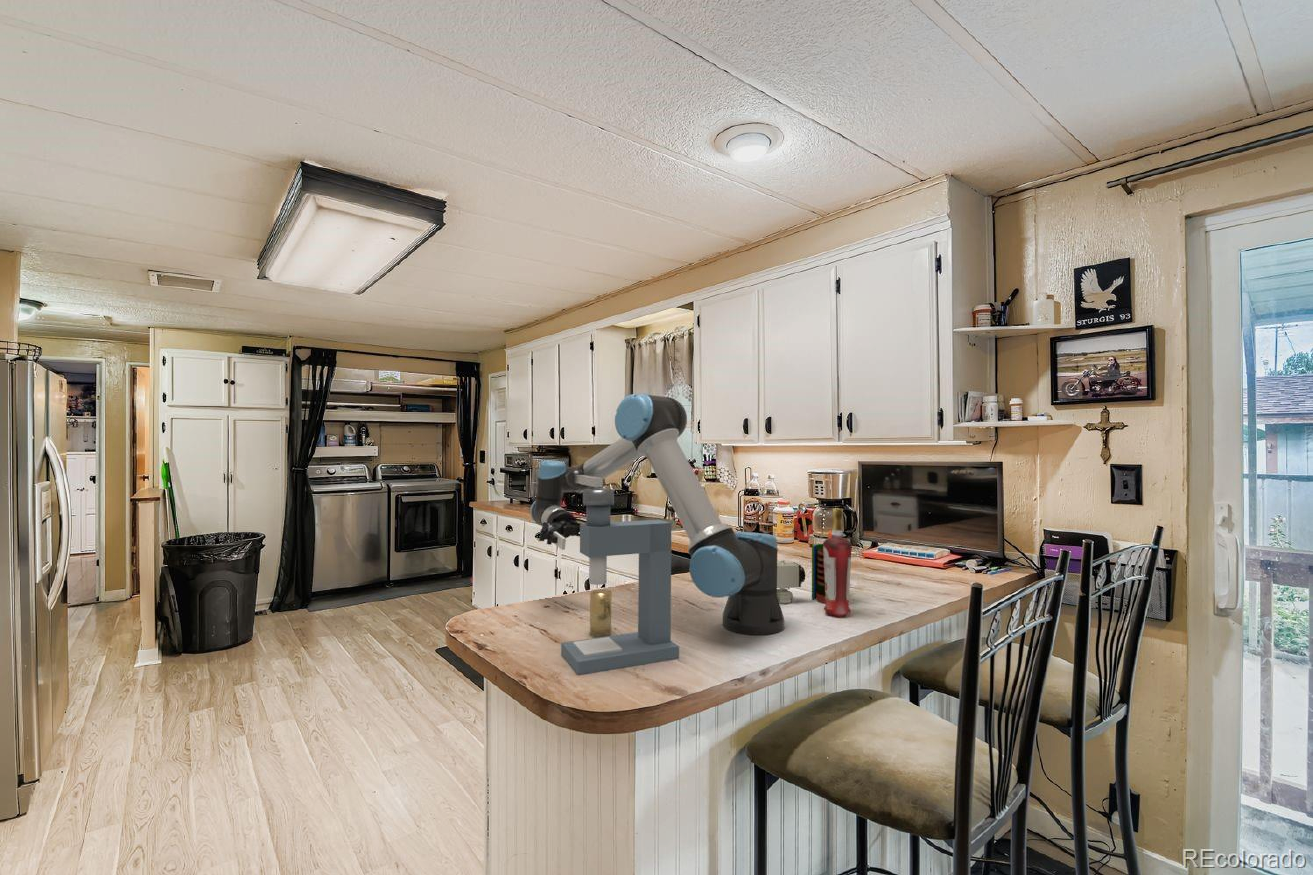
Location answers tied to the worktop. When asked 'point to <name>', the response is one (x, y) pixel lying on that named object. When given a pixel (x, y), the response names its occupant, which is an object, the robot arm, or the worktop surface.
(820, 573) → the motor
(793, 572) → the pneumatic valve
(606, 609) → the cylinder
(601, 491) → the lever
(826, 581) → the liquor
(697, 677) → the worktop surface
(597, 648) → the press frame
